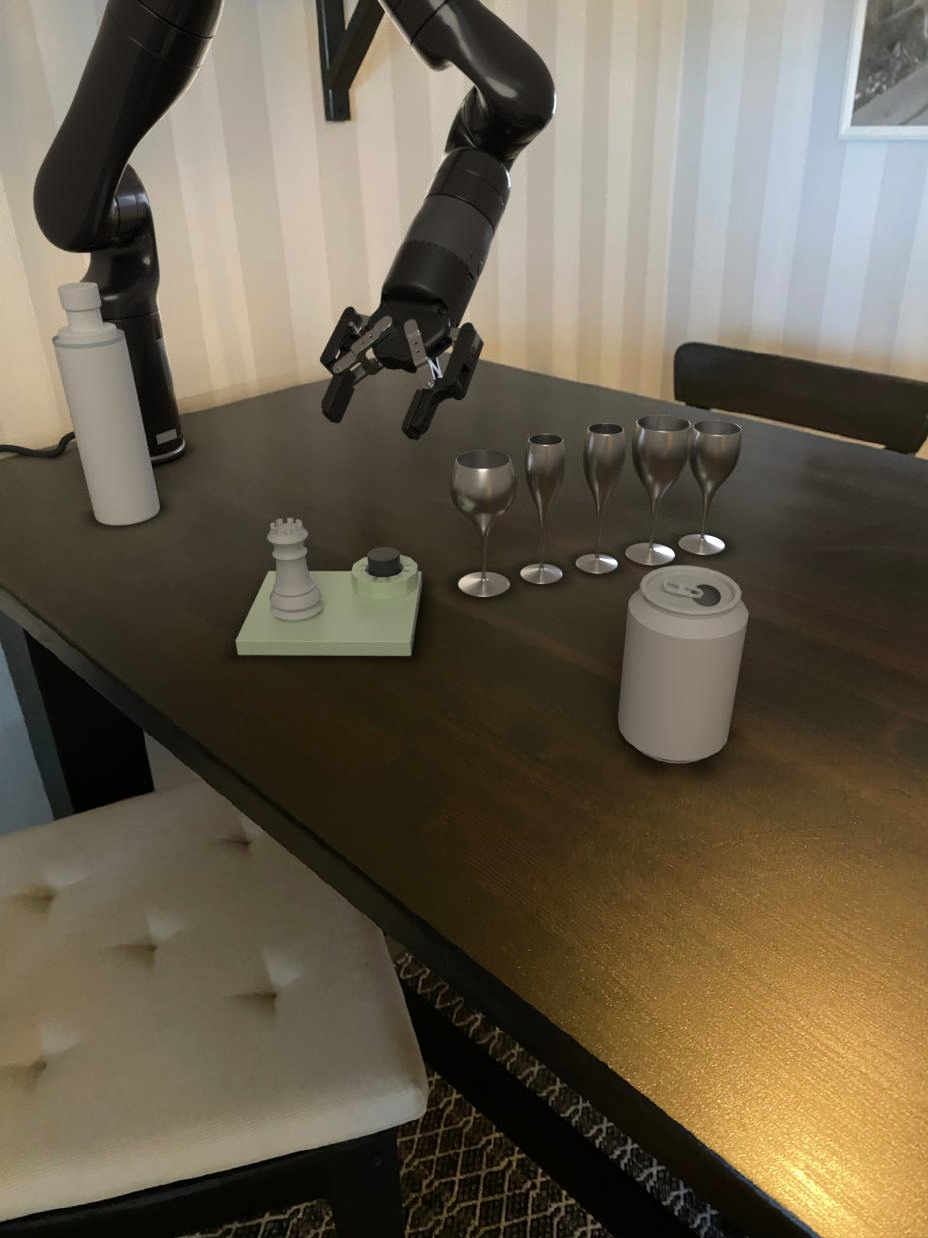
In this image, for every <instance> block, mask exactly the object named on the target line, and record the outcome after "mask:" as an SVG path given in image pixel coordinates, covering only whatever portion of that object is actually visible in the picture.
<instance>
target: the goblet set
mask: <svg viewBox="0 0 928 1238" xmlns="http://www.w3.org/2000/svg"><path fill="white" fill-rule="evenodd" d="M691 425H692V424H691V421H689V420H687V419H686V418H684V417H680V416H676V415H671V414H649V415H645V416H641V417H639V418H638V419H637V420H636V422H635V425H634V429H633V434H632V438H631V459H632V466H633V468H634V472H635V474H636V476H637V478H638V479H639V481H640V482H641V484H642V486H643V488H644V489H645V491H646V492H647V494H648V497H649V500H650V527H649V537H648V538H649V539H648V542H640V543H635V544H632V545H629V546H628V547H627V548H626V550H625V555H626V557H627V559H629V560H630V561H632V562H633V563H636V564H639V565H643V566H651V567H652V566H654V567H655V566H656V567H657V566H663V565H667V564H669V563H671V562H672V561H674V559H675V556H676V555H675V552H674V551H673V549H671V548H669V547H667V546H666V545H662V544H659V543H654V541H655V531H656V523H657V516H658V511H659V506H660V503H661V501H662V499H663V497H664V496H665V494H666V493H667V491H669V490H670V489H671V487H672V486H673V485H674V484H675V483H676V482H677V481H678V479H680V477H681V476H682V474H683V473H684V471H685V469H686V466H687V464H689V465H688V466H689V468H690V471H691V473H692V475H693V477H694V479H695V481H696V482H697V484H698V486H699V488H700V491H701V493H702V503H703V504H702V521H701V530H700V533H699V534H698V533H697V534H695V533H694V534H688V535H685V536H682V537H681V538H679V540H678V547H680V549H681V550H683V551H684V552H687V553H690V554H693V555H700V556H713V555H717V554H719V553H722V552H723V551H724V550H725V543H724V542H723V541H722V540H721V539H719V538H717V537H715V536H712V535H708V534H706V529H707V524H708V523H707V522H708V517H709V512H710V509H711V504H712V501H713V498H714V497H715V494H716V492H717V491H718V490H719V488H720V487H721V486H722V485H723V484H724V483H725V482H726V481H727V480H728V478H729V477H731V475H732V473H733V472H734V470H736V469H735V468H736V467H737V464H738V462H739V459H740V455H741V450H742V428H741V426H739V425H738V424H736V423H734V422H730V421H727V420H719V419H707V420H701V421H697V422H695V423H694V424H693V425H692V426H691ZM526 444H527V445H526V449H525V450H526V451H525V454H524V455H525V456H524V475H525V480H526V485H527V488H528V490H529V493H530V495H531V497H532V499H533V503H534V506H535V507H536V510H537V511H536V512H537V514H538V520H539V521H538V522H539V552H540V553H539V563H533V564H529V565H527V566H525V567H523V568H522V569H521V570H520V577H521V578H522V579H523V580H524V581H526V582H527V583H531V584H535V585H549V584H553V583H556V582H558V581H559V580H561V579H562V577H563V572H562V570H561V569H560V568H558V567H557V566H555V565H552V564H549V563H544V558H545V542H546V541H545V540H546V528H547V522H548V518H549V517H548V516H549V513H550V510H551V508H552V505H553V504H554V501H555V500H556V497H557V495H558V493H559V491H560V489H561V486H562V483H563V480H564V477H565V471H566V451H565V442H564V438H563V437H562V436H560V435H558V434H553V433H537V434H533V435H531V436H529V437H528V439H527V443H526ZM582 449H583V451H582V465H583V466H582V467H583V472H584V477H585V479H586V482H587V486H588V488H589V490H590V493H591V495H592V498H593V501H594V504H595V512H596V542H595V553H590V554H584V555H582V556H580V557H578V558H577V559H576V561H575V566H576V567H577V569H579V570H580V571H583V572H585V573H589V574H595V575H603V574H608V573H611V572H614V571H615V570H616V569H617V568H618V561H617V560H616V559H615V558H613V557H611V556H610V555H605V554H601V553H600V549H601V548H600V547H601V536H602V535H601V533H602V524H603V519H604V514H605V510H606V507H607V504H608V501H609V499H610V497H611V495H612V493H613V492H614V490H615V488H616V486H617V485H618V482H619V481H620V478H621V476H622V473H623V470H624V467H625V466H624V465H625V459H626V435H625V428H624V427H623V425H622V426H621V425H620V424H616V423H610V422H600V423H599V422H598V423H597V422H596V423H592V424H591V425H589V426H587V430H586V434H585V437H584V443H583V448H582ZM517 479H518V478H517V475H516V471H515V467H514V464H513V461H512V459H511V457H510V456H509V455H508V454H507V453H504V452H502V451H499V450H494V449H475V450H469V451H466V452H463V453H461V454H459V455H458V456H457V457H456V458H455V462H454V465H453V468H452V471H451V474H450V480H449V493H450V497H451V500H452V502H453V504H454V506H455V507H456V508H457V510H459V512H461V514H463V515H464V516H465V517H466V518H467V519H469V520H470V521H471V523H472V524H473V525H474V526H475V528H476V530H477V533H478V536H479V540H480V541H479V542H480V548H481V571H477V572H471V573H468V574H466V575H464V576H462V577H461V578H460V580H459V581H458V589H459V590H460V591H461V592H462V593H463V594H466V595H468V596H471V597H476V598H492V597H496V596H500V595H502V594H504V593H505V592H507V591H508V589H509V588H510V581H509V579H508V578H507V577H506V576H504V575H503V574H500V573H496V572H492V571H487V560H486V559H487V544H488V537H489V533H490V531H491V528H492V527H493V525H494V524H495V523H496V521H497V520H499V519H500V518H501V517H502V516H503V515H504V514H506V512H507V511H509V509H510V508H511V507H512V505H513V504H514V502H515V500H516V496H517V492H518V480H517Z"/></svg>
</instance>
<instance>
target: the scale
mask: <svg viewBox="0 0 928 1238" xmlns="http://www.w3.org/2000/svg"><path fill="white" fill-rule="evenodd" d="M418 565H419V564H418V563H417V562H415V561H414V560H413V559H412V558H411V557H409V556H407V555H406V556H405V555H403V554H400V567H401V571H400V573H399V574H398V575H395V576H391V577H375V576H371V575H370V574H369V570H368V558H367V556H364V557H362V558H361V559H359V560H358V561H356V562H355V563H353V565H352V568H351V570H350V571H349V570H308V571H309V575H310V577H311V579H312V580H314V582H315V585H316V586H317V587H319V589H320V592H321V595H322V596H321V598H320V599H321V600H322V601H323V607H322V609H321V611H320V612H319V614H318V615H317V616H315V617H314V618H313V619H310V620H307V621H305V622H298V623H287V622H283V621H280V620H279V619H277V618H276V617H275V616H274V615H273V614H272V613H271V612H270V606H271V605H272V604H270V600H269V597H270V594H271V592H272V590H273V586H274V584H275V581H276V570H268V571H267V573H266V574H265V575H266V576H265V578H264V580H263V582H262V584H261V586H260V588H259V590H258V593H257V594H256V597H255V598H254V601H253V603H252V605H251V606H250V609H249V612H248V614H247V615H246V618H245V620H244V622H243V624H242V626H241V629H240V631H239V633H238V635H237V637H236V639H235V646H236V651H237V656H318V657H319V656H326V657H327V656H333V657H334V656H335V657H336V656H338V657H339V656H340V657H341V656H342V657H343V656H344V657H347V656H348V657H349V656H350V657H357V656H358V657H411V656H412V651H413V646H414V638H415V633H416V627H417V619H418V615H419V614H418V613H419V608H420V600H421V593H422V587H423V575H422V574H423V573H422V571H420V570H419V566H418Z"/></svg>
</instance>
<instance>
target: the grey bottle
mask: <svg viewBox="0 0 928 1238" xmlns="http://www.w3.org/2000/svg"><path fill="white" fill-rule="evenodd" d="M57 292H58V297H59V301H60V306H61V308H62V310H64V311H65V314H66V318H67V322H68V323H67V324H68V325H65V326H62V327H60V328H59V329H58V330H57V334H56V335H54V336H53V337H52V338H51V342H52V346H53V350H54V353H55V358H56V363H57V366H58V371H59V374H60V379H61V383H62V388H63V391H64V395H65V400H66V405H67V408H68V412H69V416H70V421H71V424H72V428H73V431H74V433H75V437H76V438H75V441H76V445H77V449H78V454H79V457H80V461H81V465H82V469H83V473H84V478H85V482H86V486H87V489H88V493H89V494H88V495H89V498H90V502H91V506H92V510H93V514H94V518H95V519H96V521H97V522H99V523H100V524H103V525H107V526H114V527H115V526H119V527H120V526H129V525H135V524H139V523H143V522H145V521H148V520H150V519H152V518H153V517H155V516H156V515H158V513H159V512H160V508H161V507H160V499H159V495H158V491H157V487H156V481H155V475H154V472H153V467H152V465H151V461H150V456H149V451H148V446H147V441H146V436H145V431H144V426H143V421H142V416H141V412H140V407H139V402H138V397H137V392H136V387H135V382H134V377H133V373H132V368H131V363H130V358H129V353H128V349H127V344H126V339H125V334H124V331H122V330H120V329H117V328H116V326H115V325H114V324H112V323H107V322H102V318H101V313H100V308H99V307H100V306H101V300H100V295H99V291H98V286H97V284H96V283H91V282H80V281H79V282H70V283H64V284H61V285H58V286H57Z"/></svg>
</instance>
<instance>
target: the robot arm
mask: <svg viewBox="0 0 928 1238" xmlns="http://www.w3.org/2000/svg"><path fill="white" fill-rule="evenodd" d="M377 1H378V2H379V4H380V6H381V7H382V9H383V10H384V12H385V14H386V15H387V16H388V18H389V20H390V21H391V22H392V24H393V25H394V26H395V28H396V29H397V31H398V32H399V33H400V35H401V36H402V37H403V39H404V40H405V42H406V43H407V45H408V46H409V48H411V51H413V53H414V54H415V55H416V57H417V58H418V59H419V61H420V62H421V63H422V65H424V67H425V68H426V69H428V70H430V71H432V72H435V73H439V72H444V71H446V70H448V69H451V68H452V67H453V66H454V67H455V68H456V69H457V70H458V71H460V72H461V73H462V74H463V75H464V76H465V77H466V78H467V79H468V80H469V81H470V82H471V83H472V84H473V85H472V87H471V88H470V90H469V91H468V92H467V93H466V95H465V96H464V98H463V99H462V101H461V103H459V104H460V105H459V106H458V108H457V110H456V113H455V114H454V117H453V119H452V122H451V124H450V127H449V130H448V132H447V133H448V134H447V137H446V141H445V143H444V147H443V151H442V155H441V161H440V163H439V165H438V167H437V169H436V170H435V173H434V175H433V177H432V179H431V182H430V184H429V186H428V188H427V191H426V193H425V195H424V198H423V200H422V202H421V204H420V206H419V207H418V209H417V211H416V212H415V214H414V216H413V217H412V219H411V220H410V222H409V224H408V227H407V228H406V231H405V233H404V235H403V238H402V240H401V242H400V245H399V247H398V249H397V251H396V253H395V256H394V258H393V260H392V262H391V265H390V267H389V269H388V272H387V274H386V276H385V279H384V281H383V283H382V286H381V289H380V302H379V304H378V307H377V308H376V309H375V310H374V311H373V313H371V314H370V315H368V314H367V315H366V314H362V313H359V312H358V311H357V309H355V308H354V306H347V307H345V309H344V310H343V312H342V313H341V315H340V317H339V320H338V321H337V323H336V325H335V328H334V329H333V331H332V333H331V335H330V337H329V339H328V341H327V343H326V345H325V347H324V349H323V351H322V353H321V355H320V356H319V362H320V364H321V365H322V366H323V367H324V368H325V369H326V370H327V372H329V373H330V374H331V375H332V377H331V379H330V382H329V384H328V386H327V388H326V391H325V394H324V396H323V397H322V399H321V403H320V408H321V413H322V415H323V416H324V417H325V418H326V419H327V420H328V421H329V422H330V423H333V424H340V423H341V422H342V420H343V418H344V416H345V413H346V411H347V409H348V407H349V404H350V402H351V399H352V398H353V395H354V394H355V390H356V388H355V386H357V385H358V384H359V383H361V381H363V380H364V379H365V378H367V377H368V376H375V375H377V374H378V373H380V372H381V371H382V370H384V369H386V370H391V371H395V370H403V371H405V372H407V373H409V374H416V373H417V374H418V378H419V381H420V385H421V389H416V390H415V392H414V394H413V397H412V400H411V402H410V405H409V406H408V409H407V411H406V413H405V416H404V419H403V420H402V423H401V431H402V433H403V434H404V435H405V436H406V437H407V438H408V439H409V440H412V441H418V440H420V439H421V437H422V436H425V434H426V433H427V432H428V430H429V428H430V427H431V424H432V421H433V418H434V417H435V415H436V411H437V410H438V407H439V406H440V405H439V404H442V403H443V402H444V401H445V400H449V399H454V400H455V401H462V400H463V399H464V398H465V397H466V395H467V394H468V391H469V387H470V385H471V383H472V382H471V381H472V379H473V376H474V373H475V370H476V367H477V365H478V363H479V359H480V356H481V353H482V350H483V347H484V344H485V342H484V340H483V338H482V337H481V335H480V333H479V331H478V330H477V329H476V328H475V326H474V324H473V323H472V322H468V321H467V322H465V323H463V324H462V320H463V318H464V316H465V313H466V311H467V308H468V306H469V304H470V301H471V299H472V297H473V295H474V292H475V290H476V287H477V285H478V283H479V280H480V278H481V275H482V272H483V271H484V268H485V265H486V263H487V260H488V257H489V254H490V249H491V245H492V242H493V239H494V237H495V235H496V233H497V230H498V228H499V226H500V223H501V220H502V218H503V216H504V213H505V211H506V209H507V206H508V203H509V200H510V196H511V192H512V191H511V189H512V183H511V177H510V172H511V170H512V167H513V165H514V164H515V162H516V161H517V159H518V157H519V156H520V154H521V153H522V152H523V151H524V150H525V149H526V148H527V147H528V146H529V145H530V144H531V143H532V142H533V141H534V140H535V139H536V138H537V137H538V136H539V135H540V134H541V133H542V132H543V131H544V130H545V129H546V128H547V127H548V126H549V124H550V123H551V121H552V120H553V118H554V116H555V112H556V108H557V90H556V87H555V82H554V80H553V76H552V74H551V71H550V70H549V68H548V66H547V65H546V63H545V61H544V60H543V58H542V57H541V55H539V53H538V52H537V51H536V50H535V49H534V47H532V45H530V44H529V43H528V42H527V41H526V40H525V39H524V38H522V37H521V36H520V35H519V34H518V33H517V32H516V31H515V30H513V29H512V28H511V27H510V26H509V25H508V24H507V23H506V22H505V21H504V20H502V19H501V18H500V17H499V16H498V15H497V14H495V12H493V11H492V10H491V9H490V8H488V7H487V6H486V5H484V3H482V2H481V1H480V0H377ZM225 4H226V0H107V3H106V6H105V9H104V12H103V14H102V15H103V16H102V19H101V22H100V26H99V30H98V31H97V35H96V37H95V41H94V43H93V46H92V47H91V51H90V53H89V56H88V58H87V61H86V64H85V67H84V69H83V72H82V74H81V77H80V80H79V83H78V86H77V89H76V90H75V94H74V96H73V99H72V102H71V104H70V106H69V108H68V111H67V113H66V115H65V117H64V120H63V121H62V123H61V125H60V126H59V129H58V131H57V132H56V135H55V137H54V139H53V141H52V143H51V145H50V147H49V148H48V151H47V152H46V155H45V157H44V158H43V160H42V163H41V164H40V167H39V169H38V171H37V174H36V177H35V180H34V185H33V192H32V203H33V204H32V205H33V212H34V217H35V221H36V222H37V225H38V227H39V229H40V231H41V233H42V234H43V236H44V238H45V239H46V240H47V242H49V243H50V244H51V245H53V246H54V247H55V248H57V249H59V250H62V251H64V252H67V253H71V254H89V257H90V259H89V265H88V268H87V270H86V273H85V275H84V276H83V277H82V278H81V280H79V282H91V283H96V284H97V286H98V291H99V295H100V300H101V306H100V307H99V308H100V313H101V318H102V322H107V323H112V324H114V325H115V326H116V328H117V329H120V330H122V331H124V334H125V339H126V344H127V349H128V353H129V358H130V363H131V368H132V373H133V377H134V382H135V387H136V392H137V397H138V402H139V407H140V412H141V416H142V421H143V426H144V431H145V436H146V441H147V446H148V451H149V456H150V461H151V466H152V465H153V466H154V465H158V464H163V463H166V462H169V461H173V460H175V459H177V458H178V457H180V456H182V455H183V454H184V453H185V452H186V449H187V447H186V441H185V438H184V433H183V430H182V429H183V428H182V424H181V418H180V413H179V408H178V407H179V406H178V402H177V396H176V390H175V384H174V380H173V375H172V374H173V373H172V368H171V364H170V358H169V352H168V351H169V350H168V346H167V341H166V336H165V331H164V324H163V319H162V313H161V309H160V303H159V290H160V285H161V276H162V275H161V264H160V256H159V249H158V241H157V234H156V225H155V218H154V212H153V208H152V207H153V206H152V204H151V200H150V196H149V193H148V190H147V188H146V187H147V186H146V185H145V183H144V181H143V179H142V177H141V175H140V174H139V172H138V171H137V170H136V169H135V167H133V165H132V164H131V163H129V161H130V159H131V158H132V156H133V154H134V152H135V151H136V149H137V148H138V146H139V145H140V144H141V142H142V141H143V140H144V139H145V138H146V136H147V135H148V134H149V133H150V132H151V131H152V130H153V129H154V128H155V127H156V126H157V124H158V123H159V122H161V120H163V118H164V117H165V116H166V115H167V114H168V113H169V112H170V111H171V110H172V109H173V108H174V106H176V104H177V103H178V102H179V100H181V98H182V97H183V96H184V94H185V93H186V92H187V91H188V90H189V88H190V87H191V85H192V84H193V83H194V81H195V79H196V77H197V75H198V74H199V71H200V69H201V67H202V66H203V63H204V61H205V58H206V56H207V54H208V52H209V49H210V47H211V45H212V42H213V40H214V38H215V35H216V33H217V31H218V28H219V25H220V22H221V20H222V17H223V13H224V8H225ZM461 324H462V325H461ZM460 325H461V326H460ZM450 348H452V350H451V353H450V355H449V358H448V361H447V364H446V366H445V367H446V368H445V369H444V372H443V374H442V371H441V367H440V363H439V359H438V357H440V356H441V355H442V354H443V353H444V352H446V351H447V350H448V349H450ZM369 350H371V351H372V354H373V355H374V356H373V357H370V356H369V355H367V352H369ZM357 364H358V365H357ZM356 365H357V366H356ZM354 367H355V368H354ZM351 369H352V370H351ZM73 440H76V437H75V433H74V430H73V431H70V432H68V433H66V434H65V435H63V436H62V437H61V438H60V440H59V442H58V444H57V446H56V448H54V449H51V450H36V449H33V448H28V447H25V446H21V445H15V444H0V453H15V454H20V455H22V456H28V457H32V458H33V457H35V458H46V459H47V458H49V459H50V458H56V457H58V456H61V455H62V454H64V452H65V451H66V449H67V445H68V444H69V443H70V442H71V441H73Z"/></svg>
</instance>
